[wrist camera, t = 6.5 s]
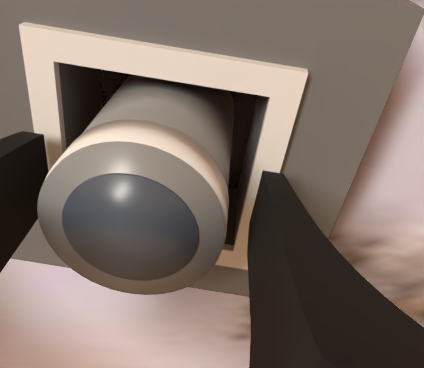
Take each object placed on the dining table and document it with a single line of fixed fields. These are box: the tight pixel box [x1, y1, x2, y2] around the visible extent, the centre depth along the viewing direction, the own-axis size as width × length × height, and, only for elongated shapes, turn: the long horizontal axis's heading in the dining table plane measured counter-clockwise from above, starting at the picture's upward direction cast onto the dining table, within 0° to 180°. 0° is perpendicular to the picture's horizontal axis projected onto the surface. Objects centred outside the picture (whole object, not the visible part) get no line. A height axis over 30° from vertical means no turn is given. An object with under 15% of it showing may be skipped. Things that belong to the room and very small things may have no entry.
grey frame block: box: [0, 0, 424, 297], centre depth 14 cm, size 12×11×4 cm
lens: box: [37, 74, 234, 295], centre depth 12 cm, size 4×4×7 cm
